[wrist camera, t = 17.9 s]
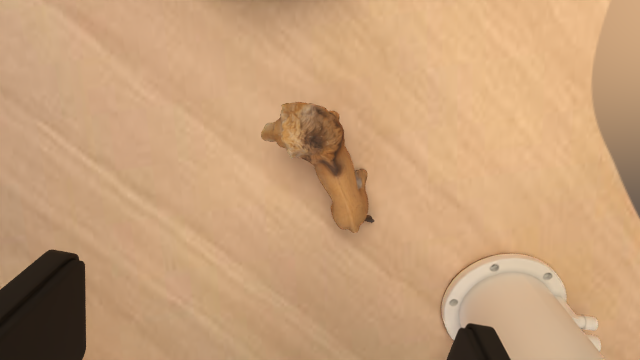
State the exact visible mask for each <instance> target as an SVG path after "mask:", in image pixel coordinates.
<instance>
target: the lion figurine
mask: <svg viewBox="0 0 640 360" xmlns="http://www.w3.org/2000/svg"><path fill="white" fill-rule="evenodd" d="M281 106H282V110H281V117H280V119H279V120H277V121H276V122H274V123H268V124H266V126H265V127H264V129H263V131H262V132H261V137H262V139H263V140H265V141H270V142H275V141H276V142H277V143H278V145H279V146H281V147H284V148H286V149H287V152H288V154H289V155H290V157H291V158H292V159H293V158H294V157H297V158H302V159H305V160H307V161H309V162H310V163H311V164H313V165H314V167H315V170H316V173H317V176H318V178H319V180H320V181H321V183H322V185H323V186H324V188H325V189H326V191H327V192H328V194H329V195H330V197H331V199H332V202H333V204H332V206H331V212H332V216H333V219H334V221H335V222H336V224H337V225H338V226H339V227H340V228H341V229H349V230H350V231H351V232H353V233H356V232H358V230H359V226H360V225H361V224H362V223H363V222H364V221H367V222H371V223H372V222H374V220H373V219H372V217H371V216H370V215H367V213H368V198H367V194H366V190H365V183H366V179H367V172H366V171H365V170H364V169H360V170H357V171H356V172H354V167H353V163H352V160H351V157H350V155H349V153H348V151H347V149H346V147H345V146H344V130H343V128H342V125H341V124H340V122H339V114H338V113H337V112H335V111H329V112H328V111H327V110H326V108H324V107H321V106H318V105H314V104H312V103H309V104H307V103H302V102H295V103H290V104H289V103H286V104H283V105H281Z"/></svg>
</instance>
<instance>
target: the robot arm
mask: <svg viewBox="0 0 640 360" xmlns="http://www.w3.org/2000/svg"><path fill="white" fill-rule="evenodd" d="M441 310H442V319H443V322H444V325H445V327H446V329H447V332H448V334H449V335H450V337H451V338H452V339H453V340H454V342H453V345H452V347H451V350H450V352H449V355H448V357H447V360H606V359H605V358H604V357H603V356H602V354H601V353H600V350H601V342H600V340H599V338H598V337H597V336H596V335H592V334H585V333H584V332H583V331H582V330H581V329H585V330H592V331H595V330H596V329H597V328H598V321H597V319H596V318H595V317H593V316H587V315H576V314H575V313H574V312H573V310H572V309H571V308H570V307H569V306H568V304H567V295H566V289H565V287H564V284H563V282H562V280H561V279H560V277H559V276H558V275H557V274H556V272H555V271H554V270H553V269H552V268H551V267H550V266H549V265H548V264H546V263H544V262H543V261H541V260H539V259H537V258H534V257H531V256H529V255H523V254H500V255H494V256H490V257H487V258H484V259H481V260H479V261H477V262H475V263H473V264H471V265H470V266H468V267H467V268H465V269H464V270H463V271H461V272H460V273H459V274H458V275H457V276H456V277H455V278H454V279H453V280H452V282H451V283H450V285H449V286H448V288H447V290H446V292H445V295H444V297H443V301H442V307H441ZM85 350H86V309H85V264H84V262H83V261H79V257H78V255H77V254H74V253H68V252H63V251H57V250H49V251H47V252H46V253H44V254H43V255H42V256H41V257H40V258H38V259H37V260H36V261H35V262H33V263H32V264H31V265H30V266H29V267H27V268H26V269H25V270H24V271H23V272H21V273H20V274H19V275H18V276H17V277H15V278H14V279H13V280H12V281H10V282H9V283H8V284H7V285H6V286H4V287H3V288H2V289H1V290H0V360H82V359H83V357H84V354H85Z"/></svg>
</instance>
